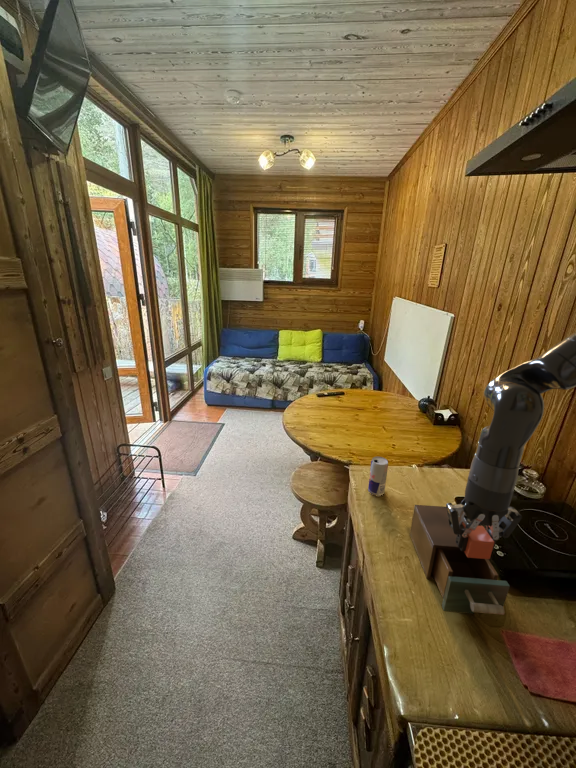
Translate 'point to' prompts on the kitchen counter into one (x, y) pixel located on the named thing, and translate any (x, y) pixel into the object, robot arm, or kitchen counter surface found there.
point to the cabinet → (431, 534)
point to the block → (479, 544)
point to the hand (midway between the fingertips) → (473, 548)
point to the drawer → (468, 583)
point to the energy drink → (378, 476)
